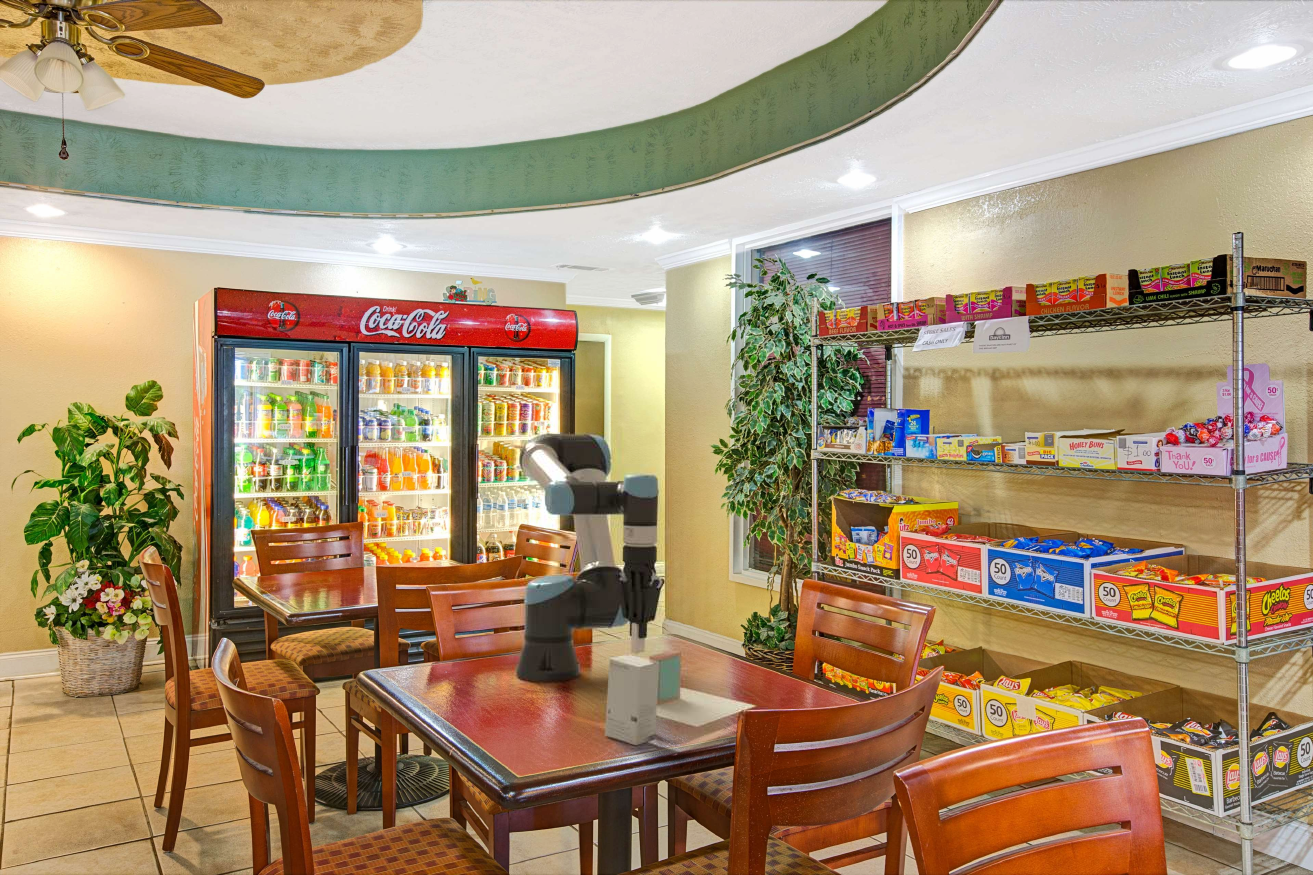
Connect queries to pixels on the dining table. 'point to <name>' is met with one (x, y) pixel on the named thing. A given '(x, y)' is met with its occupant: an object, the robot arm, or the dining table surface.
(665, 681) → the tile
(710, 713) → the mat
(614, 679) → the skincare box
